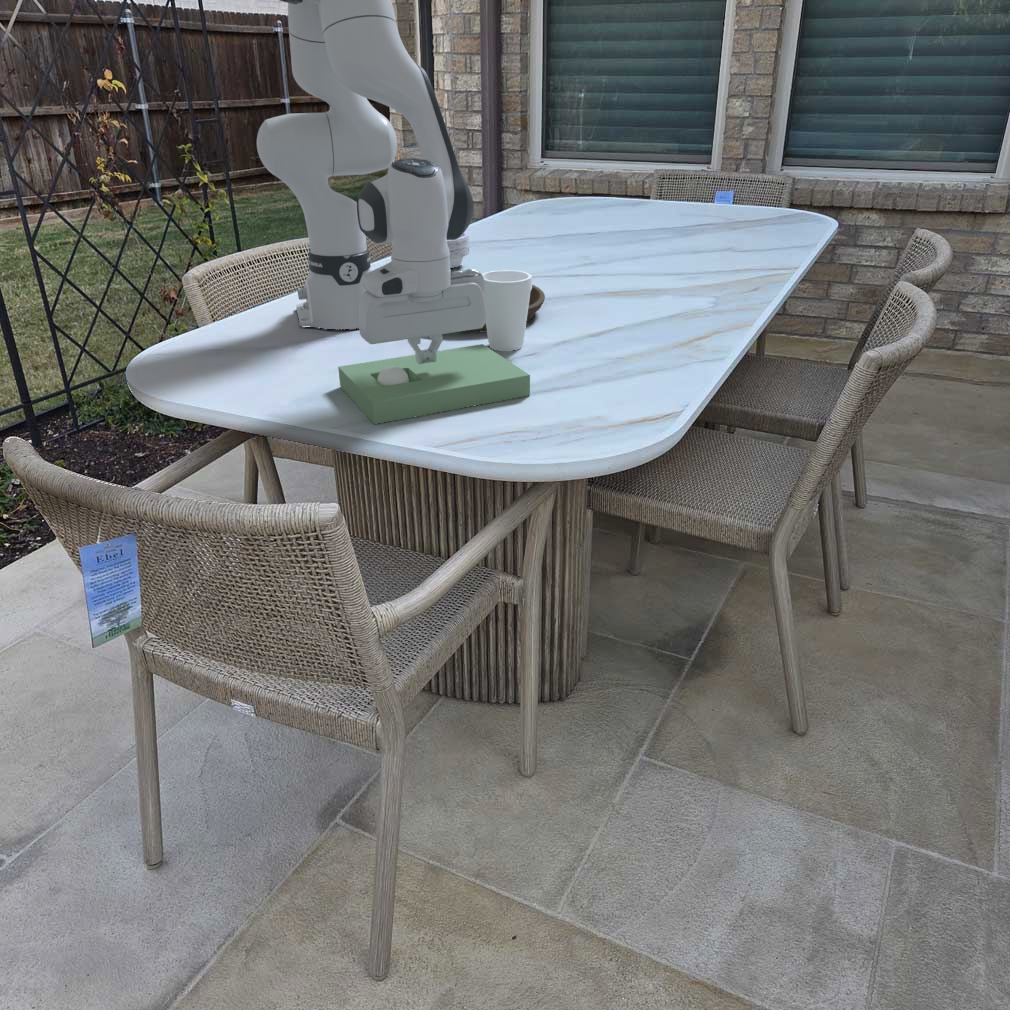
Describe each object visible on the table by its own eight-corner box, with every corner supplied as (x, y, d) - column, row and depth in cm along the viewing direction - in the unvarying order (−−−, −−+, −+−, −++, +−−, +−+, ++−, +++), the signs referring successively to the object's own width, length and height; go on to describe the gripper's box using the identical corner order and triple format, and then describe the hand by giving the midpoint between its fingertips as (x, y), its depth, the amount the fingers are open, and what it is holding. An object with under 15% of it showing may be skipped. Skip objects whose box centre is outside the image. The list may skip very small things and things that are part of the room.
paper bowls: (402, 263, 222) (400, 232, 218) (456, 257, 227) (455, 227, 224) (422, 276, 210) (420, 242, 206) (479, 269, 215) (478, 237, 211)
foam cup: (530, 338, 164) (530, 269, 158) (532, 353, 156) (533, 282, 150) (480, 338, 164) (479, 270, 158) (480, 354, 156) (479, 282, 150)
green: (340, 386, 141) (338, 366, 140) (482, 363, 151) (482, 344, 150) (374, 424, 127) (372, 402, 125) (529, 395, 137) (530, 374, 135)
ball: (393, 356, 136) (405, 381, 139) (367, 372, 134) (380, 398, 137) (406, 364, 132) (419, 391, 135) (379, 382, 131) (393, 407, 134)
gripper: (475, 263, 136) (477, 347, 143) (351, 277, 129) (359, 365, 135) (492, 271, 131) (493, 358, 138) (364, 287, 124) (372, 378, 130)
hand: (426, 362), depth 136 cm, fingers closed
